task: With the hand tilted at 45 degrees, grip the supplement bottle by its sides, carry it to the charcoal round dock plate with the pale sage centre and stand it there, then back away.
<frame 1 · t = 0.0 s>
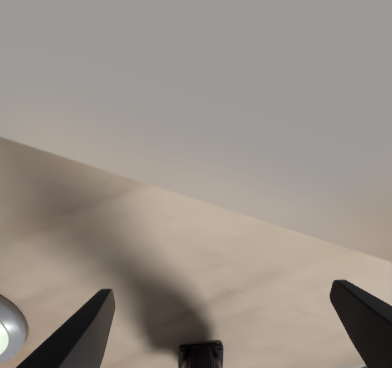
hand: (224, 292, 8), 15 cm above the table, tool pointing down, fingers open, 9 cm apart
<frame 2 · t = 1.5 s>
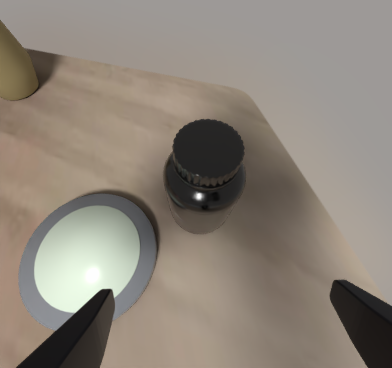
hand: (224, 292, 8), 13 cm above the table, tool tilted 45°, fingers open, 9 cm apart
supplement bottle: (199, 207, 24), on the table
dock plate: (94, 255, 21), on the table
squeeze bottle: (20, 89, 32), on the table
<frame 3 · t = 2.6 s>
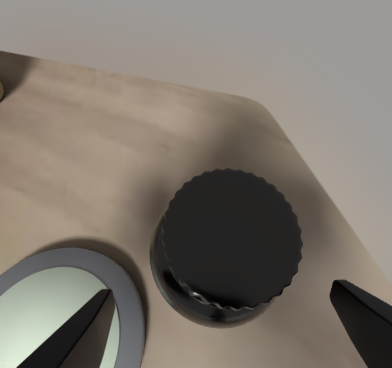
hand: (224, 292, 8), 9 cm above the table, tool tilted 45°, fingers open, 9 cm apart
supplement bottle: (205, 263, 18), on the table
dock plate: (54, 342, 15), on the table
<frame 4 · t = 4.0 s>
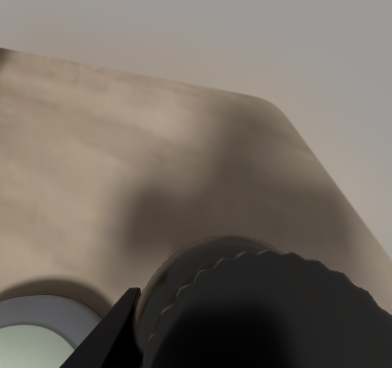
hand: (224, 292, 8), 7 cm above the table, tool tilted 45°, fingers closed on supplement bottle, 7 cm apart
supplement bottle: (210, 312, 14), on the table, touching gripper
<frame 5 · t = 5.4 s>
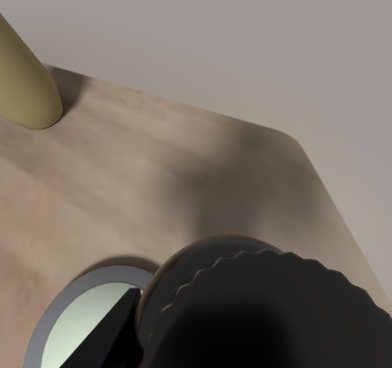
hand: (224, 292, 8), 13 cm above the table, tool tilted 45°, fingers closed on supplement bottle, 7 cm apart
supplement bottle: (212, 311, 14), point 6 cm above the table, touching gripper
dock plate: (112, 345, 18), on the table
squeeze bottle: (43, 115, 29), on the table
when the fingers open (9 cm above the table, at t = 7.2 s): supplement bottle stays where it is, resting on dock plate.
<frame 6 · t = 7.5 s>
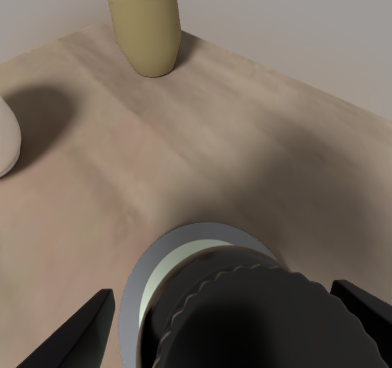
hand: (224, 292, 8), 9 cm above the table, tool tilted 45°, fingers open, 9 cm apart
supplement bottle: (211, 314, 15), point 1 cm above the table, touching dock plate
dock plate: (208, 308, 16), on the table
squeeze bottle: (154, 65, 29), on the table
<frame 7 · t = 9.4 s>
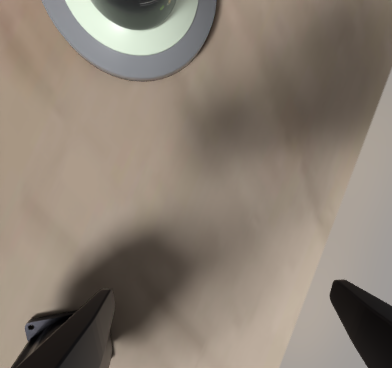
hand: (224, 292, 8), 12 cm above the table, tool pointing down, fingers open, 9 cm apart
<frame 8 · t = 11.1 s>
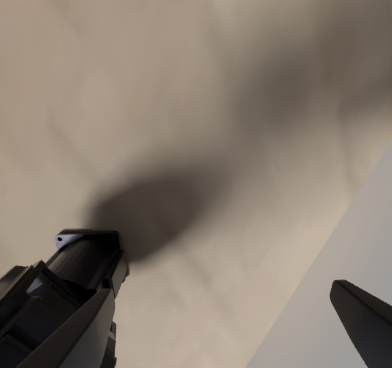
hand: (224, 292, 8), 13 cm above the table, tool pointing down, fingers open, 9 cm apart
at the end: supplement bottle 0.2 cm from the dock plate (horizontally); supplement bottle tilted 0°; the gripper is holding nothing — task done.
